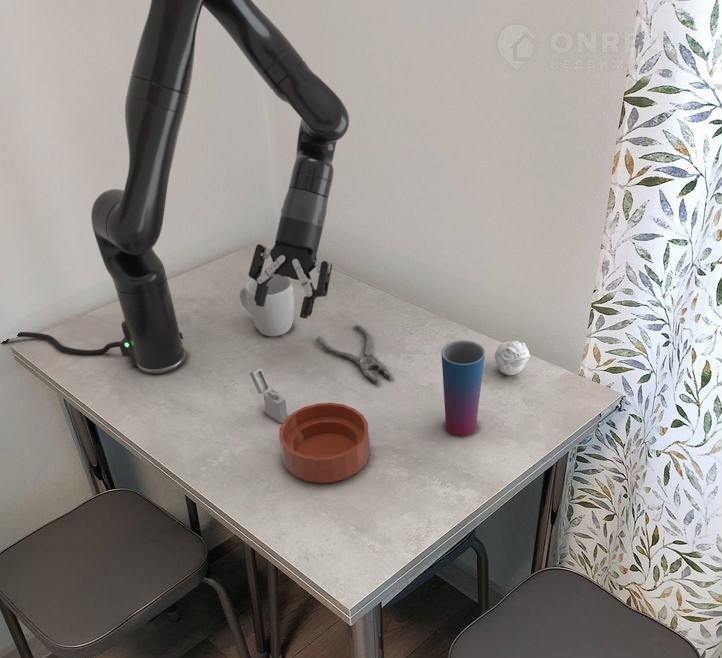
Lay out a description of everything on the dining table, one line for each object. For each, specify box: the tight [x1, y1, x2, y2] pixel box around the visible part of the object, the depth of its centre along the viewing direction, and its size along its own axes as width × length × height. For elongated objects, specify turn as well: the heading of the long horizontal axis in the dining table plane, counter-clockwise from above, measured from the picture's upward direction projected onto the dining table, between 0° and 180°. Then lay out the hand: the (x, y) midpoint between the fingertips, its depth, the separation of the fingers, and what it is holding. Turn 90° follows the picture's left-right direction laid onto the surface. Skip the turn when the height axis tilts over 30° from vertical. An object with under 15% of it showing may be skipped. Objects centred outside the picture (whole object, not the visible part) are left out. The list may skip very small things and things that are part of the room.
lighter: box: [249, 368, 289, 424], centre depth 140 cm, size 7×2×8 cm, turn 44°
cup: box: [440, 339, 486, 437], centre depth 132 cm, size 7×7×15 cm
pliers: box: [317, 323, 391, 385], centre depth 154 cm, size 10×1×20 cm
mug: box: [239, 275, 295, 337], centre depth 161 cm, size 13×9×10 cm
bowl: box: [278, 402, 371, 484], centre depth 131 cm, size 14×14×6 cm
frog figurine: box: [494, 340, 531, 376], centre depth 145 cm, size 6×7×7 cm
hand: (281, 311), depth 143 cm, fingers open, 8 cm apart
